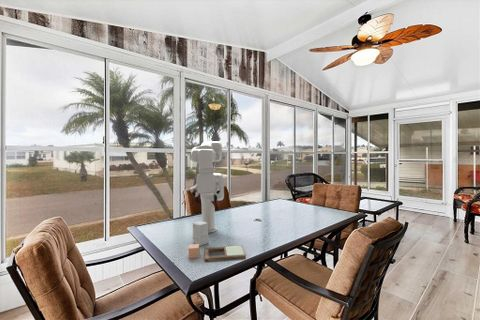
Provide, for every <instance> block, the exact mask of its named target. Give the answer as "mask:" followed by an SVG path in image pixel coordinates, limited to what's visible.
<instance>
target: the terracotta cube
mask: <svg viewBox="0 0 480 320" xmlns="http://www.w3.org/2000/svg"><path fill="white" fill-rule="evenodd" d="M197 258H198V259H199V258H200V245H199V244H195V243H193V244H189V245H188V259H197Z"/></svg>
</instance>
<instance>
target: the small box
mask: <svg viewBox="0 0 480 320" xmlns="http://www.w3.org/2000/svg"><path fill="white" fill-rule="evenodd" d="M192 243H193V244H199V247H200V246H201V247H202V246H204V245H206V244H209V233H208V223H206V222H203V221H202V220H199V221H195V222H192Z"/></svg>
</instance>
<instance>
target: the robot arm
mask: <svg viewBox="0 0 480 320" xmlns="http://www.w3.org/2000/svg"><path fill="white" fill-rule="evenodd" d="M222 158H223V146H222V143H221V142H220V141H213V140H212V141H211V140H210V141H203V142H202V143H201V145H199V146H195V147H193V148H192V149H191V152H190V159H191V160H190V161H192V162H193V163H198V174H197V175H196V181H195V183H196V184H195V185H193V186H192V187H190V188H189V191H190V192H191V194H192V195H193V196H194V203H195V204H196V205H199V195H200V202H201V221H203V222H206V223H208V234H212V233H215V232H217V230H218V228H217V226H216V217H215V216H216V215H215V213H216V212H215V211H216V210H215V205H214V204H217V202H218V201H223V200H224V198H225V186H224V175H223V174H222V173H216V169H214V166H213V163H214V162H216V163H217V162H221V161H222ZM194 190H196V192H195V191H194ZM213 203H214V204H213Z"/></svg>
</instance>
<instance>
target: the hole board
mask: <svg viewBox="0 0 480 320" xmlns="http://www.w3.org/2000/svg"><path fill="white" fill-rule="evenodd" d="M246 258H247V257H246V252H245V250H244V247H243V245H225V246H213V247H205V248H204V262H205V263H206V262H215V261H216V262H217V261H227V260H228V261H229V260H243V259H246Z"/></svg>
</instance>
